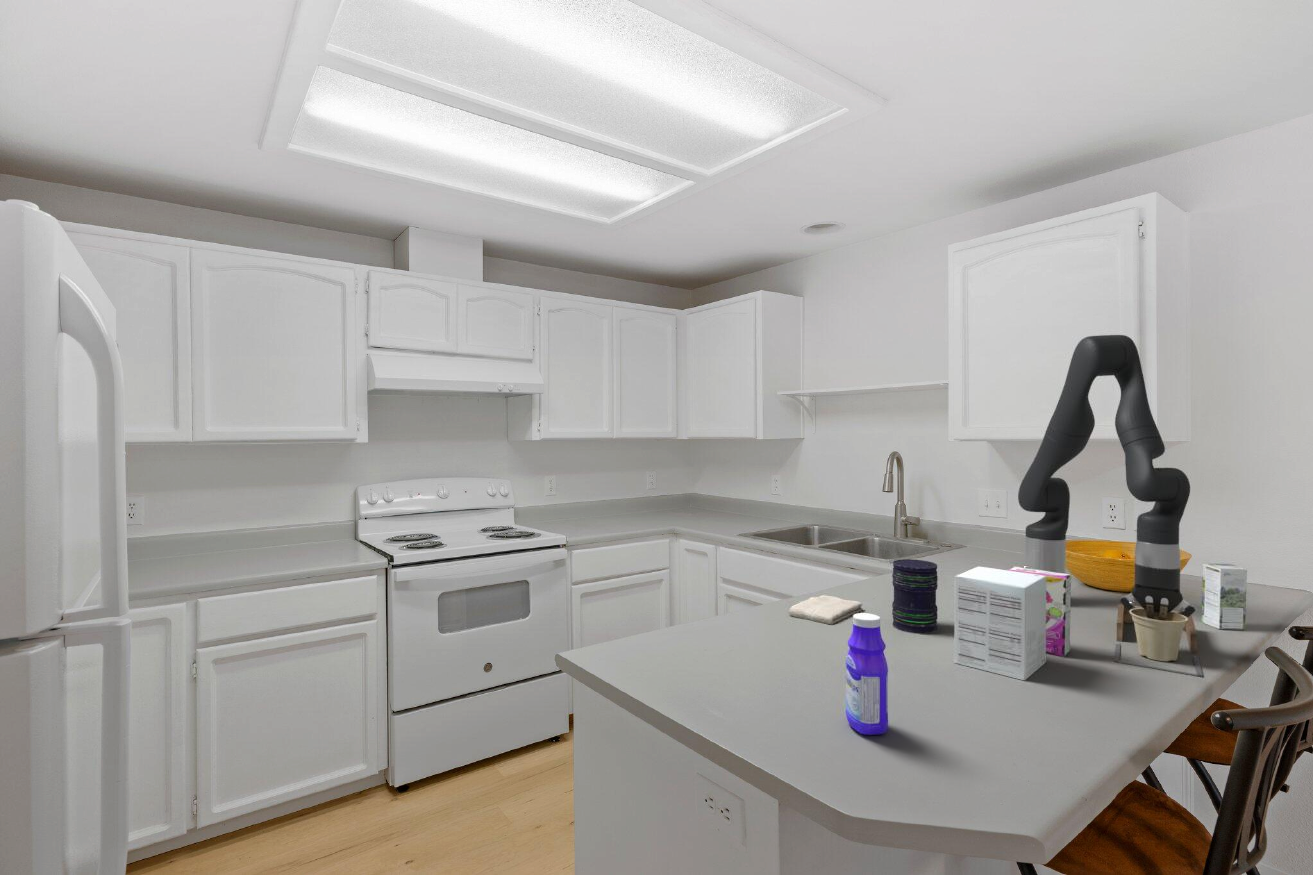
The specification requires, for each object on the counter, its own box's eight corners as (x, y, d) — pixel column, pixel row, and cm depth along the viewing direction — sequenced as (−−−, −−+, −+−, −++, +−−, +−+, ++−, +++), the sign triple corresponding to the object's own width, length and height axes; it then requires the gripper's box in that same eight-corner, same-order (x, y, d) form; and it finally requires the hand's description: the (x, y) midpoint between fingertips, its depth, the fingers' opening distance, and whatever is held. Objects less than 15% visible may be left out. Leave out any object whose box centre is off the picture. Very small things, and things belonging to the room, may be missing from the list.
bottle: (840, 717, 105) (840, 610, 105) (874, 716, 105) (874, 609, 105) (857, 738, 98) (858, 623, 97) (894, 737, 98) (894, 622, 98)
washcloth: (864, 611, 167) (864, 599, 167) (832, 627, 153) (832, 614, 153) (822, 603, 174) (822, 591, 174) (788, 618, 161) (787, 605, 161)
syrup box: (1226, 623, 154) (1227, 562, 154) (1246, 630, 149) (1247, 567, 148) (1200, 622, 155) (1201, 561, 155) (1219, 630, 149) (1220, 567, 149)
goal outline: (1114, 661, 129) (1114, 660, 129) (1115, 644, 140) (1115, 643, 140) (1203, 677, 121) (1203, 676, 121) (1198, 657, 131) (1198, 656, 131)
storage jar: (891, 630, 149) (891, 566, 149) (892, 619, 158) (892, 558, 158) (938, 635, 146) (938, 569, 145) (937, 623, 155) (937, 561, 154)
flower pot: (1170, 649, 136) (1170, 608, 135) (1199, 666, 126) (1199, 622, 126) (1120, 647, 138) (1120, 606, 137) (1144, 663, 128) (1144, 620, 128)
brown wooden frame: (1116, 640, 142) (1116, 622, 142) (1118, 620, 157) (1118, 603, 157) (1196, 653, 134) (1197, 634, 134) (1191, 630, 149) (1191, 613, 149)
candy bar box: (1005, 645, 139) (1005, 569, 139) (1011, 640, 143) (1012, 565, 142) (1065, 658, 131) (1066, 577, 131) (1071, 651, 135) (1071, 573, 135)
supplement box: (976, 647, 138) (977, 565, 138) (1046, 663, 129) (1047, 575, 128) (952, 663, 129) (952, 575, 129) (1025, 681, 119) (1026, 587, 119)
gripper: (1117, 562, 136) (1116, 644, 137) (1199, 570, 128) (1198, 657, 129) (1118, 556, 142) (1117, 634, 143) (1196, 564, 134) (1195, 646, 135)
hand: (1155, 645), depth 136 cm, fingers closed
